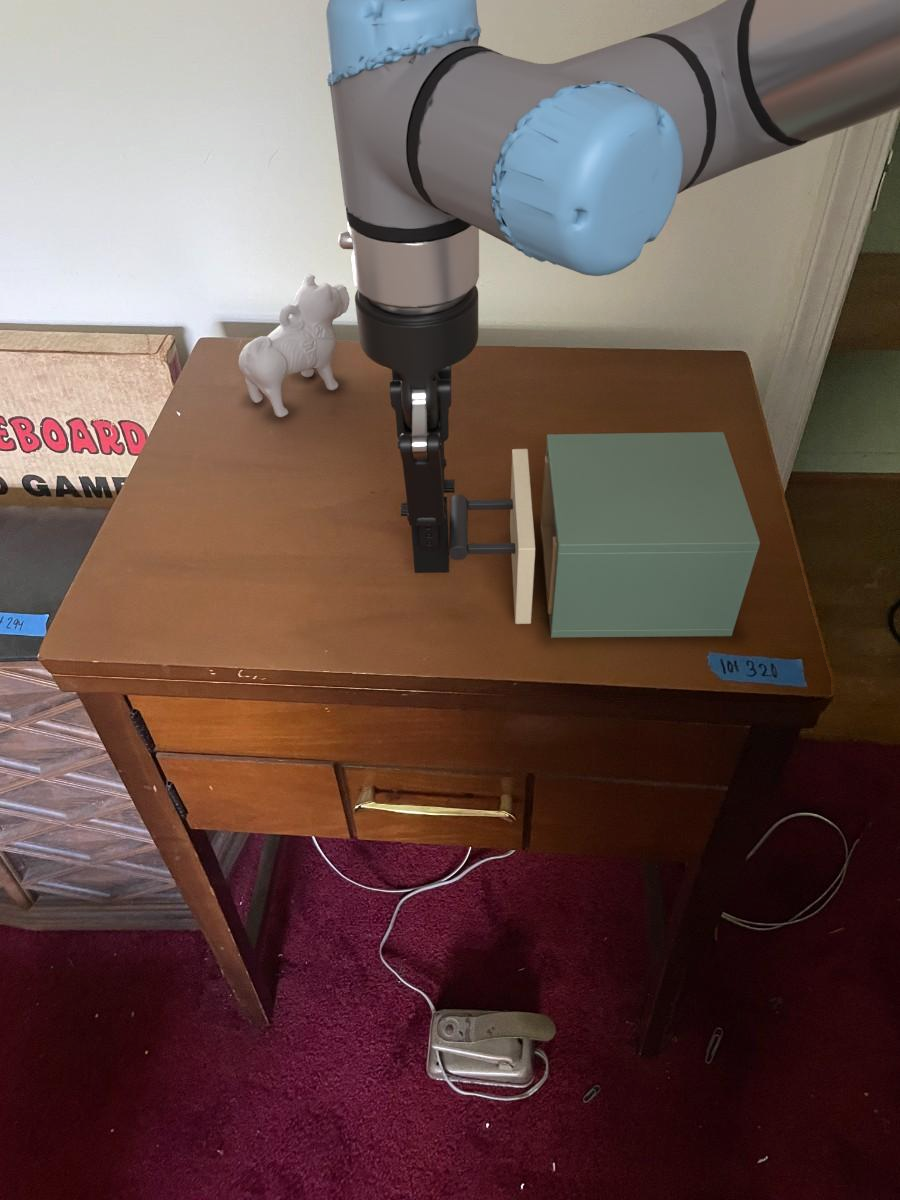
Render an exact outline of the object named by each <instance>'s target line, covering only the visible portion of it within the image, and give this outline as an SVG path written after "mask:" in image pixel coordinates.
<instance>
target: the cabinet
mask: <svg viewBox="0 0 900 1200" xmlns="http://www.w3.org/2000/svg"><path fill="white" fill-rule="evenodd" d="M545 446H546V448H545V457H546V456H548V460H549V470H550V479H551V489H552V499H553V508H554V518H555V528H556V537H557V556H556V568H555V580H554V592H553V604H552V614H548V620H549V632H550V637H551V638H553V639H554V638H555V639H556V638H667V637H668V638H669V637H671V638H673V637H676V638H678V637H680V638H681V637H732V636H733V632H734V629H735V626H736V624H737V623H736V622H737V620H738V616H739V613H740V610H741V606H742V604H743V601H744V597H745V594H746V591H747V587H748V585H749V581H750V578H751V574H752V571H753V568H754V564H755V561H756V557H757V555H758V551H759V548H760V546H761V540H760V538H759V534H758V532H757V528H756V526H755V523H754V518H753V517H752V513H751V510H750V507H749V504H748V501H747V498H746V496H745V493H744V490H743V487H742V484H741V481H740V478H739V474H738V471H737V469H736V466H735V462H734V459H733V457H732V453H731V450H730V448H729V444H728V441H727V439H726V436H725V433H724V431H708V432H707V431H703V432H702V431H701V432H699V431H698V432H695V431H693V432H689V431H688V432H629V433H627V432H625V433H621V432H620V433H619V432H618V433H617V432H616V433H558V434H557V433H556V434H555V433H553V434H551V433H550V434H547V435H546V445H545Z"/></svg>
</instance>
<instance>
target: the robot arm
mask: <svg viewBox="0 0 900 1200" xmlns="http://www.w3.org/2000/svg"><path fill="white" fill-rule="evenodd" d="M477 5H478V4H477V0H328V2H327V6H326V14H325V16H326V30H327V31H326V32H327V44H328V46H327V47H328V58H329V59H328V60H329V73H328V75H327V79H326V80H327V86H328V87H329V89H330V96H331V97H330V98H331V106H332V107H331V108H332V114H333V121H334V130H335V137H336V146H337V154H338V162H339V163H338V164H339V170H340V178H341V185H342V186H341V187H342V194H343V200H344V207H345V213H346V221H347V230H346V231H341V232H340V233H339V235H338V239H337V242H338V245H339V247H340V248H341V249H343V250H352V252H351V256H350V257H351V258H350V259H351V267H352V275H353V276H352V278H353V284H354V286H355V288H356V292H355V295H354V303H355V312H356V313H355V314H356V320H357V321H356V322H357V323H356V324H357V331H358V339H359V340H358V341H359V345H360V348H361V350H362V351H363V353H364V354H365V356H367V357H368V358H369V359H370V360H371V361H372V362H373V363H376V364H377V365H379V366H381V367H385V368H387V369H388V370H389V369H390V370H391V376H392V379H390V380H389V394H390V395H389V397H390V405H391V408H392V409H393V410H394V412H395V421H396V435H397V439H398V440H397V449H398V450H399V453H400V454H399V455H400V458H401V462H402V468H403V479H404V486H405V496H406V502H401V503H400V517H407V522H408V525H409V527H410V528H411V530H410V531H411V541H412V554H413V570H414V574H431V573H432V574H433V573H434V574H435V573H436V574H437V573H450V555H449V519H448V516H449V515H448V497H447V496H445V494H454V493H455V492H456V482H455V479H445V469H446V467H447V459H446V457H445V442H446V441H447V440H448V439H449V429H450V428H449V427H450V422H449V414H450V412H449V411H450V408H451V406H452V366H453V365H455V364H459V362H461V361H463V360H464V359H466V358H467V357H468V356H469V355H470V354H471V353H472V352H473V351H474V350H475V348H476V345H477V343H478V341H479V289H478V287H477V283H478V281H479V278H480V231H482V232H484V233H486V234H488V235H490V236H492V237H494V238H495V239H497V240H500V241H501V242H503V243H505V244H508V245H509V246H511V247H513V248H515V250H517V251H518V252H521V253H522V254H524V255H525V256H526V257H528V258H533V259H534V260H536V261H538V262H540V263H543V262H549V263H550V264H552V265H555V266H556V265H557V266H560V267H563V268H565V269H568V270H571V271H573V272H576V273H579V274H582V275H585V276H592V277H601V276H608V275H612V274H615V273H618V272H620V271H622V270H625V269H626V268H628V267H629V266H631V265H632V264H633V263H634V262H636V261H637V260H638V259H639V257H640V255H641V253H642V251H643V248H644V246H645V245H646V244H647V243H651V242H654V241H655V240H656V239H657V237H658V236H659V235H660V233H661V232H662V230H663V229H664V227H665V225H666V223H667V221H668V219H669V218H670V216H671V213H672V211H673V208H674V206H675V203H676V200H677V196H678V195H679V194H681V193H682V192H685V191H686V190H688V189H691V188H694V187H695V186H697V185H701V184H703V183H706V182H709V181H710V180H713V179H715V178H717V177H720V176H723V175H725V174H727V173H729V172H732V171H735V170H737V169H739V168H743V167H745V166H747V165H751V164H753V163H756V162H759V161H762V160H765V159H767V158H771V157H773V156H775V155H779V154H781V153H784V152H787V151H790V150H792V149H796V148H797V147H801V146H803V145H805V144H807V143H808V142H811V141H814V140H817V139H819V138H822V137H825V136H829V135H831V134H833V133H837V132H839V131H842V130H845V129H848V128H850V127H854V126H856V125H859V124H862V123H864V122H867V121H870V120H872V119H873V120H874V119H877V118H879V117H882V116H885V115H888V114H890V113H893V112H896V111H899V110H900V0H725V1H723V2H722V3H720V4H718V5H716V6H714V7H712V8H710V9H709V10H706V11H705V12H703V13H701V14H698V15H696V16H693V17H692V18H689V19H687V20H684V21H681V22H678V23H677V24H674V25H673V24H672V25H671V26H669V27H666V28H662V29H660V30H657V31H655V32H651V33H647V34H643V35H639V36H636V37H632V38H630V39H626V40H624V41H621V42H618V43H614V44H611V45H607V46H605V47H602V48H599V49H598V48H597V49H596V50H592V51H590V52H586V53H583V54H581V55H580V54H579V55H576V56H574V57H571V58H567V59H564V60H561V61H558V62H553V63H537V62H533V61H529V60H525V59H521V58H517V57H514V56H513V57H512V56H509V55H504V54H502V53H500V52H498V51H495V50H493V49H492V48H488V47H486V46H483V45H479V41H480V37H481V32H482V28H481V26H480V23H479V17H478V7H477Z"/></svg>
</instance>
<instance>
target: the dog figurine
mask: <svg viewBox="0 0 900 1200" xmlns="http://www.w3.org/2000/svg"><path fill="white" fill-rule="evenodd" d="M315 279H316V275H314V274H305V276H304V278H303V280H302V283H301V286H300V287H299V288H298V290H297V292H296V294H295V297H294V304H285V305H284V306H282V307H281V308H280V310H279V314H278V319H279V325H278V326H277V327H276V328H275V329H274V330H273V331H271V332H270V333H268V334H267V336H266V335H265V336H263V335H262V336H261V335H260V336H257V337H256V338H254V339H252V340H251V341H249V342H248V343H246V344H245V345H244V347H243V348H242V350H241V352H240V354H239V356H238V367H239V369H240V371H241V373H242V374H243V377H244V381H245V383H246V386H247V387H246V388H247V391H248V394H249V397H250V399H251V401H252V402H254V403H256V404H258V403H260V402H261V401H262V400H263V395H264V396H265V397H266V398H267V399H268V400H269V402H270V404H271V407H272V409H273V412H274V415H275V416H276V417H278V418H283V417H285V416H287V415H288V414H289V411H288V409H287V408H286V407H285V406H284V403H283V398H282V397H283V396H282V383H283V382H284V380H285V378H286V377H287V376H289V375H294V374H297V373H301V375H302V376H303V377H305V378H310V377H312V376H313V375H314V373H315V370H314V369H316V371H317V373H318V374H319V376H320V378H321V379H322V380H323V381H324V384H325V387H326V389H327V390H329V391H334V390H336V389H338V388H339V383H338V382H337V380H336V379H335V378H334V373H333V368H332V359H333V356H334V354H335V351H336V347H337V334H336V331H335V329H334V326H333V321H334V320H336V319H337V318H339V317H341V316H342V315H343V314H345V313H346V312H348V309H349V305H350V295H349V292H348V288H347V287H346V286H345V285H343V284H341V283H338V284H336V285H334V286H332V285H331V284H329V283H327V282H323V283H322V284H321V283H320V284H316V282H315ZM260 391H261V392H262V393H261V392H260ZM262 394H263V395H262Z"/></svg>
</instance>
